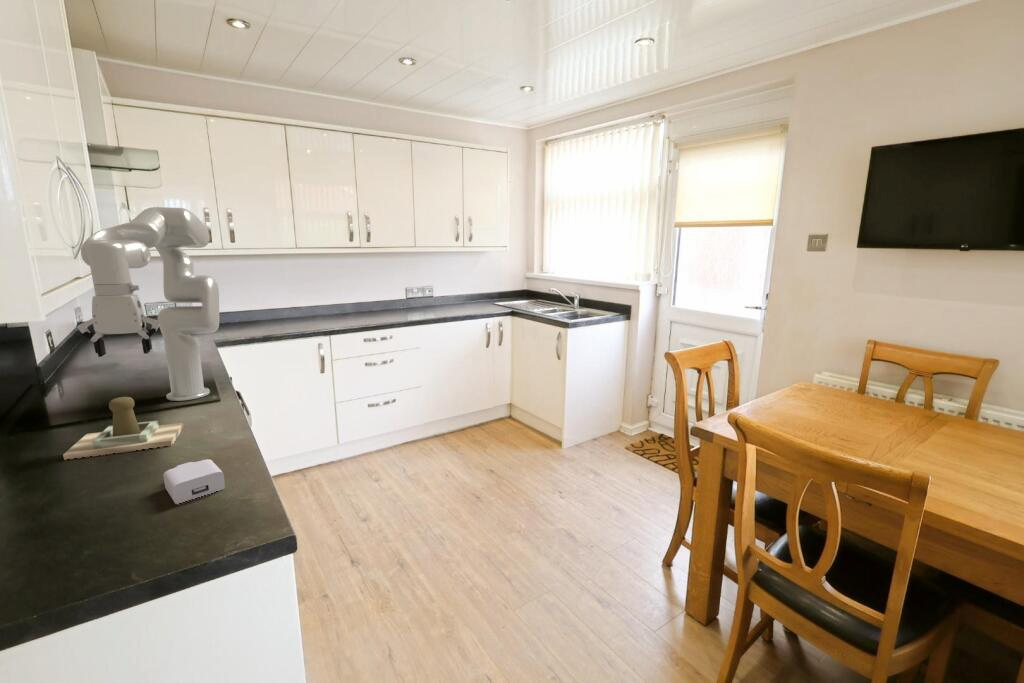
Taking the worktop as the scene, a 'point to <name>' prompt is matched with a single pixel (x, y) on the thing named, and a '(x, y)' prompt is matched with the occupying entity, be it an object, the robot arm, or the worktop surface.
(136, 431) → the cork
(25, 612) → the worktop surface
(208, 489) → the charger
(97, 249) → the robot arm
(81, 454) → the socket board
